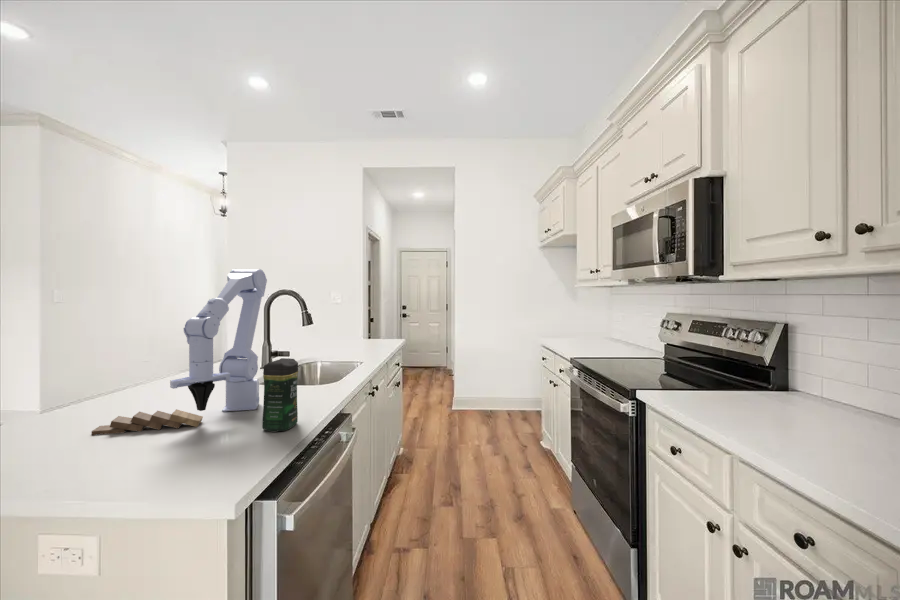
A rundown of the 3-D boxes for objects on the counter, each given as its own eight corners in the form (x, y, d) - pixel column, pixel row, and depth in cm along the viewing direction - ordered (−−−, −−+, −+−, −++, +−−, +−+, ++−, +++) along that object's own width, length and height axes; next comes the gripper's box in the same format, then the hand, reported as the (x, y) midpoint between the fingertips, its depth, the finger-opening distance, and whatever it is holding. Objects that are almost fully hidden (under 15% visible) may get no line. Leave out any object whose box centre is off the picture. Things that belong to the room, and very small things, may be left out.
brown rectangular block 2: (167, 419, 116) (139, 411, 114) (162, 424, 112) (133, 416, 110) (164, 424, 116) (136, 417, 114) (159, 430, 112) (130, 422, 110)
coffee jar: (287, 433, 111) (287, 362, 110) (257, 432, 111) (258, 361, 111) (302, 422, 120) (302, 356, 120) (274, 421, 121) (275, 356, 120)
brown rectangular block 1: (148, 420, 115) (118, 415, 113) (142, 425, 111) (111, 421, 108) (146, 426, 115) (116, 421, 112) (141, 431, 111) (109, 427, 108)
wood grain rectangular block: (131, 423, 114) (100, 425, 112) (124, 428, 110) (91, 431, 107) (131, 429, 114) (100, 431, 112) (124, 434, 110) (91, 437, 107)
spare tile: (203, 416, 119) (176, 409, 117) (199, 421, 115) (171, 414, 113) (200, 422, 119) (173, 414, 117) (197, 427, 115) (169, 419, 113)
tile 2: (185, 418, 118) (157, 410, 115) (180, 422, 113) (152, 415, 111) (182, 423, 117) (155, 416, 115) (177, 428, 113) (149, 421, 111)
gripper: (221, 356, 125) (221, 402, 125) (165, 362, 113) (165, 412, 114) (233, 358, 120) (233, 406, 121) (176, 365, 109) (176, 418, 109)
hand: (201, 409), depth 117 cm, fingers closed
